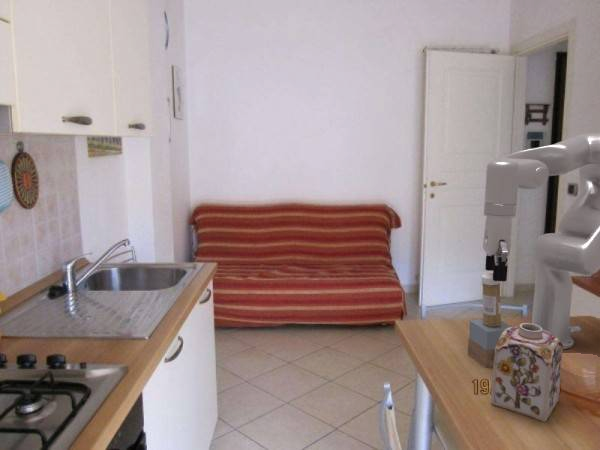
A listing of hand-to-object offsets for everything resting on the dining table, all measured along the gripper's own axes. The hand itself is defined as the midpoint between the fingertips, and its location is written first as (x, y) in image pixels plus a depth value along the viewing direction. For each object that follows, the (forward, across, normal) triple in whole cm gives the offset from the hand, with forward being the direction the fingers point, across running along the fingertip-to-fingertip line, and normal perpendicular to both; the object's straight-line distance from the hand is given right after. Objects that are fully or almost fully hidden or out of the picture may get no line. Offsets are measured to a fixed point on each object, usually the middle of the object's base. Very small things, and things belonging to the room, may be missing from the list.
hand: (495, 275), depth 128 cm
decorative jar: (+24, +21, +4) cm, 32 cm away
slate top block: (+18, 0, 0) cm, 19 cm away
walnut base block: (+24, 0, 0) cm, 24 cm away
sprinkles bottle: (+14, 0, 0) cm, 14 cm away
